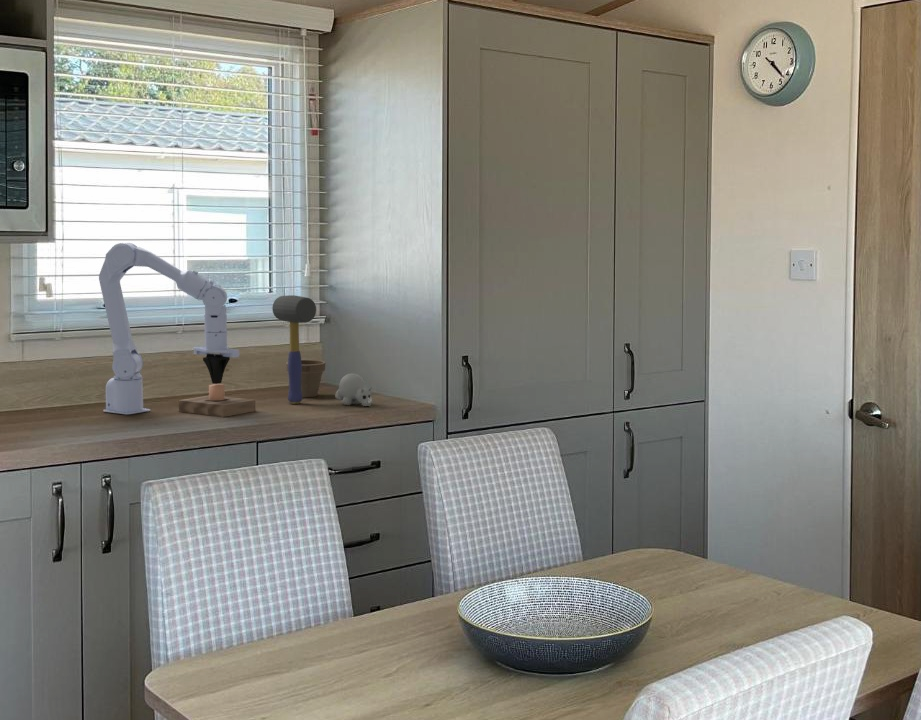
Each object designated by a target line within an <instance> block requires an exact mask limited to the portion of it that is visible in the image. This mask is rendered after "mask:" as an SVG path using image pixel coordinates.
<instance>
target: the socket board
mask: <svg viewBox="0 0 921 720" xmlns="http://www.w3.org/2000/svg"><path fill="white" fill-rule="evenodd" d="M178 412H180V413H189V414H196V415H197V414H198V415H203V416H204V415H205V416H213V417H220V418H221V417H222V418H224V417H229V416H235V415H241V414H247V413H252V412H256V399H250V398H242V397H235V396H234V397H233V396H225V401H220V402H213V401H209V395H203V396H197V397H191V398H185V399H179V400H178Z"/></svg>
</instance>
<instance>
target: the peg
mask: <svg viewBox="0 0 921 720" xmlns="http://www.w3.org/2000/svg"><path fill="white" fill-rule="evenodd" d="M225 395H226V394H225V384H222V383H218V384H213V383H212V384H209V385H208V396H209V401H213V402H220V401H225V397H226V396H225Z"/></svg>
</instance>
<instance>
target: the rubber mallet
mask: <svg viewBox="0 0 921 720" xmlns="http://www.w3.org/2000/svg"><path fill="white" fill-rule="evenodd" d="M271 309H272V313H273V316H274V317H275V318H276V319H278V320H279V321H283V322H288V323H289V352H288V360H287V362H288V371H287V373H288V374H287V375H288V394H287V400H288V402H289V404H291V405H298V404H301V401H302V400H303V397H302V392H301V372H302V363H301V360H302V356H301V351H300V327H299V324H300V323H301V324H303V323H304V324H305V323H309V322H311V321H313V319H314V318H315V316H316V314H317V306H316V303H315V302H314V300H313V299H311V298H309V297H306V296H301V295H280V296H278V297H277V298H275V300H274V301H273V304H272V306H271Z"/></svg>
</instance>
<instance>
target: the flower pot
mask: <svg viewBox="0 0 921 720" xmlns="http://www.w3.org/2000/svg"><path fill="white" fill-rule="evenodd" d="M301 363H302V372H301V392H302V398H305V399H306V398H314V397H317V396H318V394H319V390H320V385H321V381H322V380H321V379H322V376H323V372H324V371H326V363H327V362H325V361H323V360H317V359H301ZM285 369H286V372H288V361H286V363H285Z"/></svg>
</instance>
